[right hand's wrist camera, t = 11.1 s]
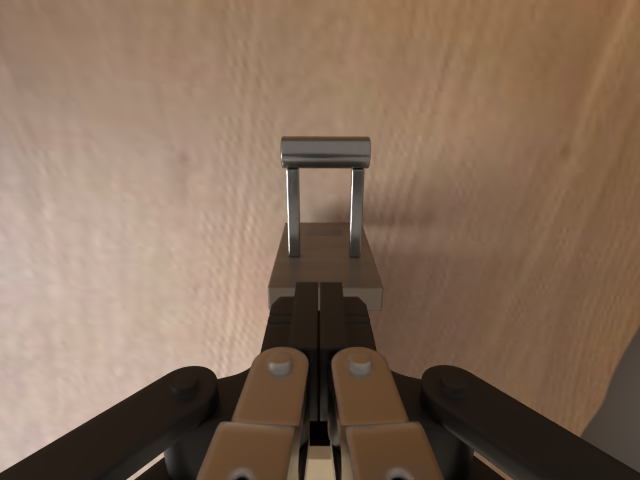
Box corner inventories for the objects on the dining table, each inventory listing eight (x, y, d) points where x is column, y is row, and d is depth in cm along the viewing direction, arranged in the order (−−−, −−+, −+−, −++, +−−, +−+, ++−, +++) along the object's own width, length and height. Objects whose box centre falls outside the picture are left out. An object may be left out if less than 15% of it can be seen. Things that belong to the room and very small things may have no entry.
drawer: (282, 127, 23) (260, 145, 15) (366, 127, 23) (393, 146, 15) (291, 435, 32) (281, 560, 24) (352, 435, 32) (364, 561, 24)
